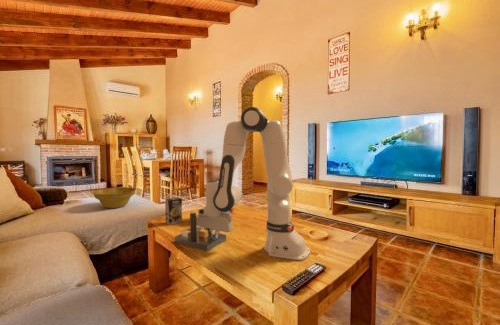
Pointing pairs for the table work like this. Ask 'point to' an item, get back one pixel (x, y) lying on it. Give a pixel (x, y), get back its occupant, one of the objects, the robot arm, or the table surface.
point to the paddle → (203, 233)
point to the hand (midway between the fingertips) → (214, 237)
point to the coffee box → (173, 210)
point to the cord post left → (193, 226)
